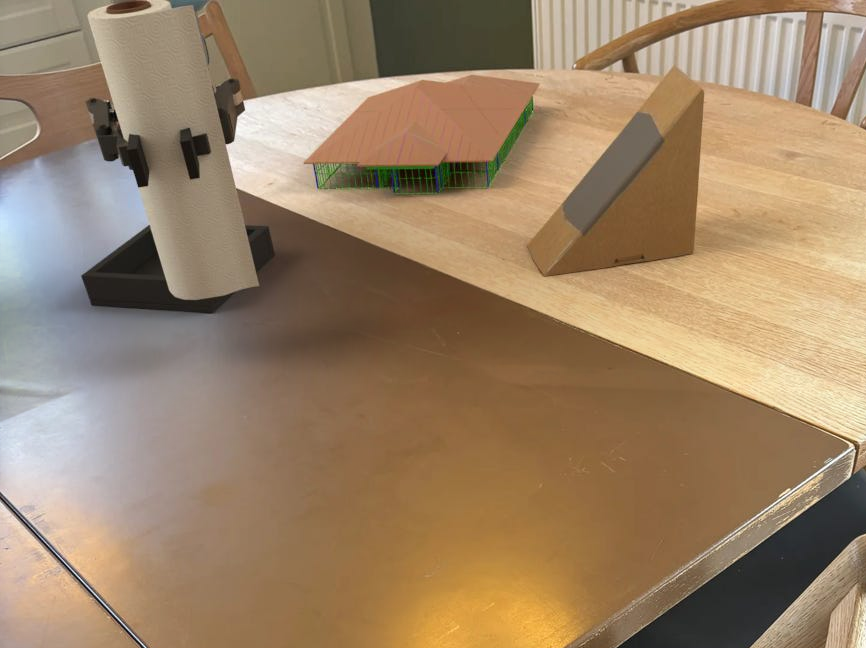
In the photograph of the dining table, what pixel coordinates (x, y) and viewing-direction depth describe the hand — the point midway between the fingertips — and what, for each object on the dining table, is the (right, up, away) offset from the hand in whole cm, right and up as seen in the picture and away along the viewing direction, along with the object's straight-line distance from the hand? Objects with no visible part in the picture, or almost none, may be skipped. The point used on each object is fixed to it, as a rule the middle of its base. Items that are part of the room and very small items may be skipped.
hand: (163, 164), depth 76 cm
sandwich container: (+37, +4, +26) cm, 45 cm away
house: (+17, +26, +53) cm, 62 cm away
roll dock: (-7, +2, +29) cm, 30 cm away
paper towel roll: (0, -5, +12) cm, 13 cm away
